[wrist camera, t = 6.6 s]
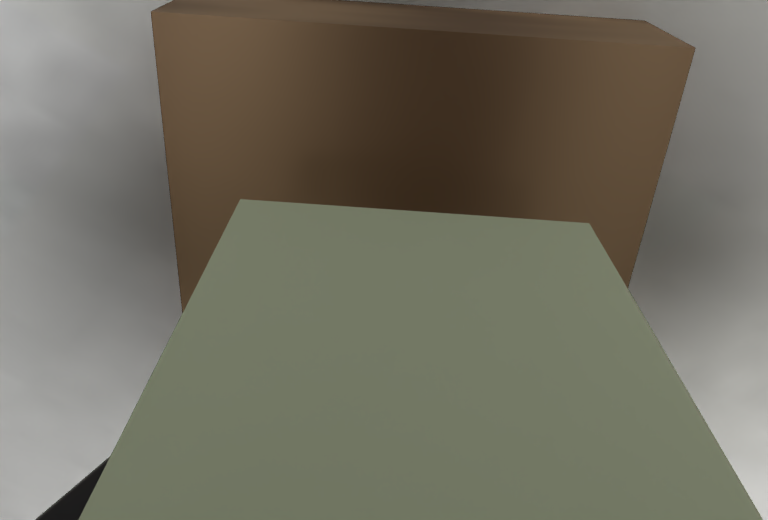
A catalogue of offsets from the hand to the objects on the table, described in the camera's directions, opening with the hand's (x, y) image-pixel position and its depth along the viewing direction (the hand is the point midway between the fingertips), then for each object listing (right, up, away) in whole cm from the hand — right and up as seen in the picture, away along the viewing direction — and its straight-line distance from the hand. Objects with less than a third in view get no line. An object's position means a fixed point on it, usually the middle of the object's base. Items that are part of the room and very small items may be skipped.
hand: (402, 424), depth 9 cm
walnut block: (0, +4, +6) cm, 7 cm away
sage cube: (0, +1, +1) cm, 2 cm away
